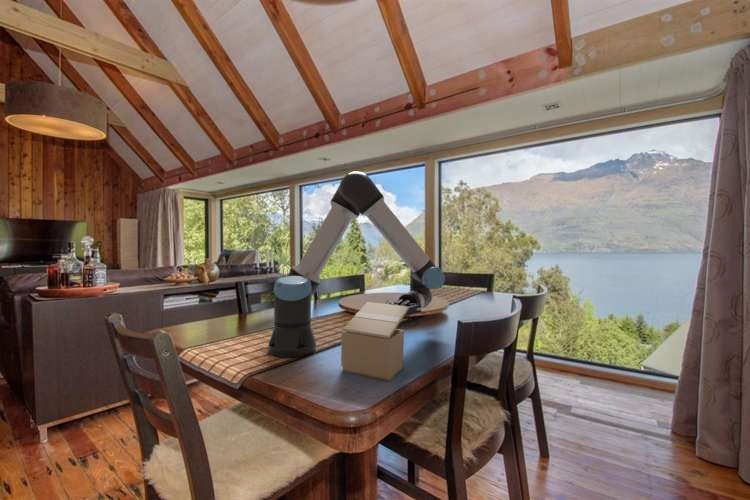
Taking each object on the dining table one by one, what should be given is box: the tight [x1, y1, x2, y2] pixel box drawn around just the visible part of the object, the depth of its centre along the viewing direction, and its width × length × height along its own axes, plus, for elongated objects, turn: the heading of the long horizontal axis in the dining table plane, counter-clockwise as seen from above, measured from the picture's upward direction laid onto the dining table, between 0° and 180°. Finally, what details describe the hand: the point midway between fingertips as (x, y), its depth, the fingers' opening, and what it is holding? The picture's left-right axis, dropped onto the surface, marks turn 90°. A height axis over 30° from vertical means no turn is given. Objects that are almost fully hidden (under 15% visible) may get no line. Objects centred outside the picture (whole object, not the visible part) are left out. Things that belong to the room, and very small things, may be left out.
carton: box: [340, 328, 405, 382], centre depth 96 cm, size 15×10×11 cm
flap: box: [343, 301, 409, 338], centre depth 98 cm, size 14×15×1 cm
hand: (383, 316), depth 102 cm, fingers closed
